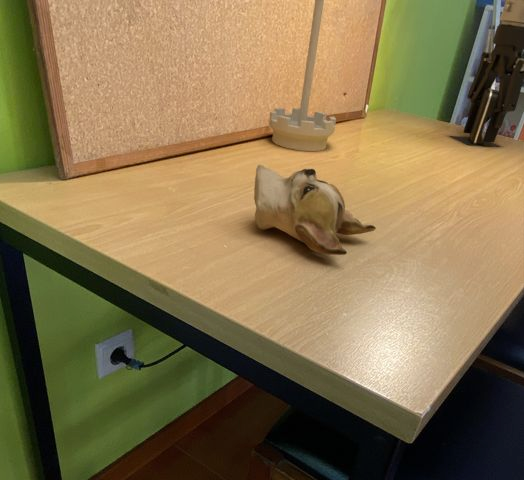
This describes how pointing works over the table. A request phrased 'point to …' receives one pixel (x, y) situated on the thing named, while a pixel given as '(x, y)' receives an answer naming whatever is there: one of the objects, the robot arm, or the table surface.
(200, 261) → the table surface
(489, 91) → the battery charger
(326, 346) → the table surface
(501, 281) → the table surface
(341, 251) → the ceramic sculpture
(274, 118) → the flag stand
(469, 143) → the mat
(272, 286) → the table surface
